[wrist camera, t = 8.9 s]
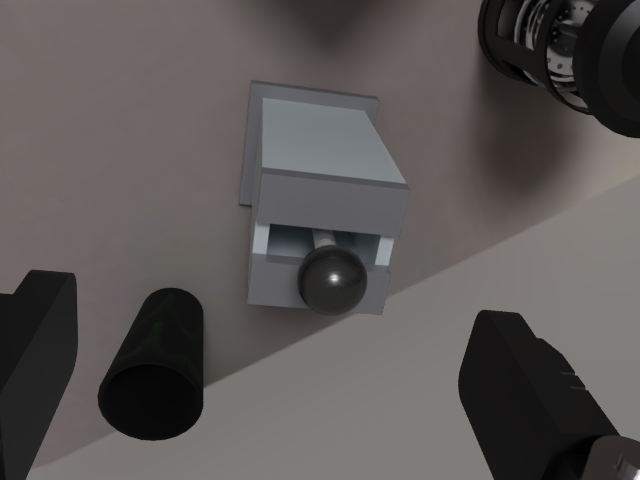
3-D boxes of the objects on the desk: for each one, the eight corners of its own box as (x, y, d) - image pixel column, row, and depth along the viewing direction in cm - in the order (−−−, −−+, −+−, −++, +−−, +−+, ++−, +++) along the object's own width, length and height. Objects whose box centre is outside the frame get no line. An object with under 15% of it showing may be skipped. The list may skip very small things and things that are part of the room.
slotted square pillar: (377, 97, 49) (432, 175, 33) (355, 211, 53) (394, 330, 37) (251, 80, 48) (244, 153, 31) (239, 199, 52) (228, 316, 36)
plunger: (358, 143, 44) (406, 251, 29) (344, 218, 46) (382, 352, 31) (276, 133, 43) (282, 238, 28) (267, 210, 45) (268, 343, 30)
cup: (177, 361, 59) (157, 456, 48) (112, 315, 56) (75, 405, 45) (232, 311, 57) (224, 399, 46) (167, 261, 54) (143, 342, 43)
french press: (607, 61, 49) (854, 150, 29) (495, 105, 50) (656, 222, 29) (583, -95, 44) (862, -123, 23) (458, -43, 45) (622, -27, 24)
